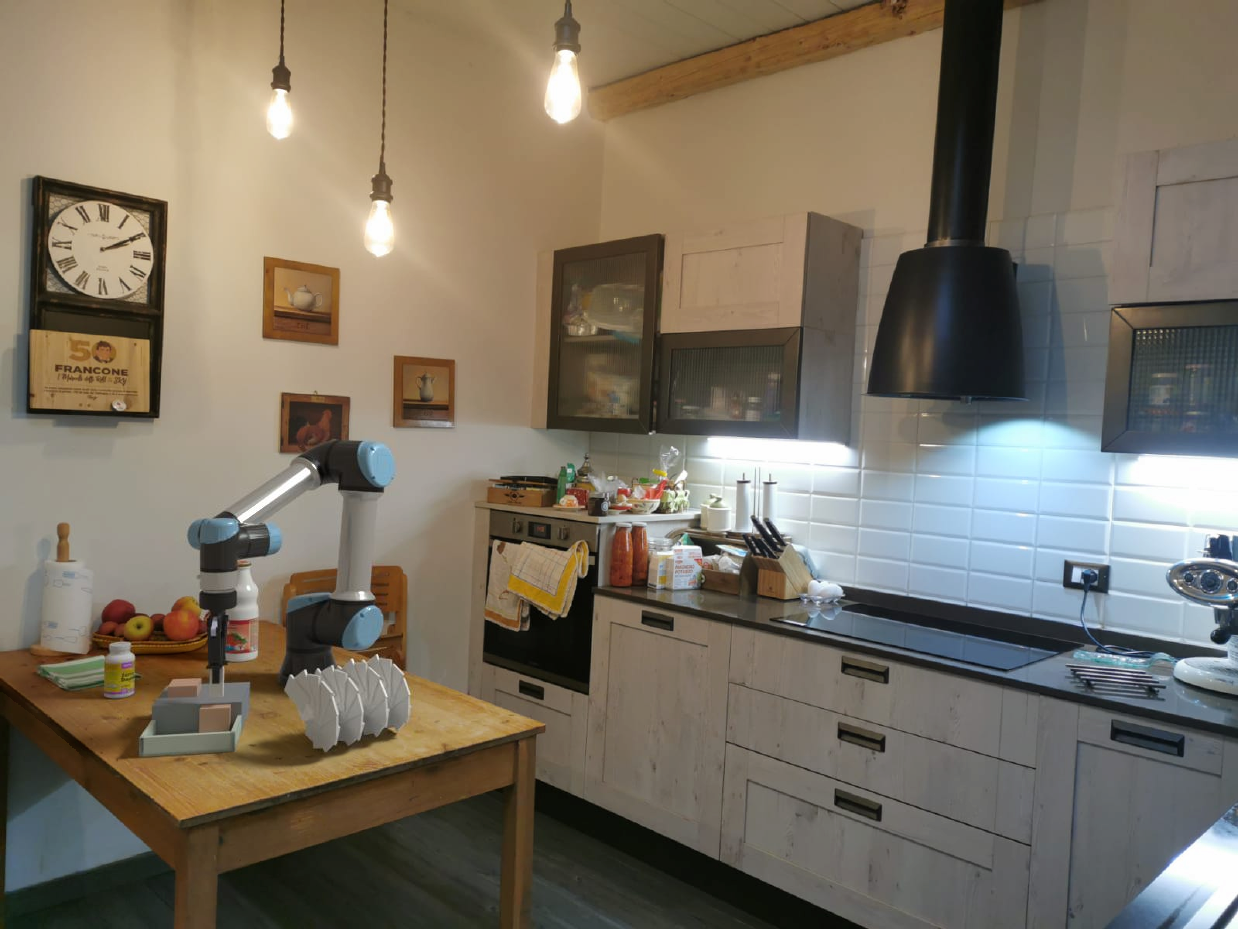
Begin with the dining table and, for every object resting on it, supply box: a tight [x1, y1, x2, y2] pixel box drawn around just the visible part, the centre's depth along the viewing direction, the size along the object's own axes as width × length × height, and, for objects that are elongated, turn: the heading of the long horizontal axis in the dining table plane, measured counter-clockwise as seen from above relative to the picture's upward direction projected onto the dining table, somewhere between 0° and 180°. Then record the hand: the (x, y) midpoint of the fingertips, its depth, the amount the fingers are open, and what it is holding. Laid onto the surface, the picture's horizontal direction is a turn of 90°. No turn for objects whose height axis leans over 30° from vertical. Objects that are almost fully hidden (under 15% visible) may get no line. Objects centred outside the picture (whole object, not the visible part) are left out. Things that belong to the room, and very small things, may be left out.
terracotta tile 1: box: [199, 704, 231, 733], centre depth 197 cm, size 6×6×2 cm
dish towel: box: [36, 654, 142, 692], centre depth 239 cm, size 18×23×3 cm
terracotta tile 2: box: [167, 677, 203, 698], centre depth 204 cm, size 6×6×2 cm
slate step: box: [151, 681, 251, 735], centre depth 205 cm, size 18×16×7 cm
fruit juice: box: [224, 560, 260, 663], centre depth 260 cm, size 9×9×28 cm
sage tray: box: [138, 715, 242, 758], centre depth 192 cm, size 18×12×4 cm, turn 106°
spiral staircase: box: [283, 653, 413, 753], centre depth 198 cm, size 18×18×25 cm
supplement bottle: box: [103, 641, 136, 699], centre depth 223 cm, size 7×7×13 cm
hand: (216, 696), depth 197 cm, fingers closed
